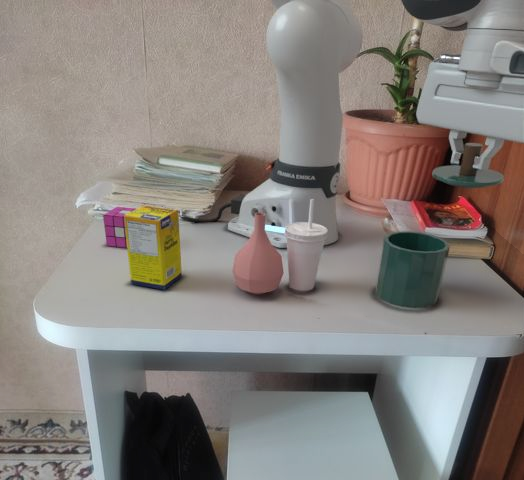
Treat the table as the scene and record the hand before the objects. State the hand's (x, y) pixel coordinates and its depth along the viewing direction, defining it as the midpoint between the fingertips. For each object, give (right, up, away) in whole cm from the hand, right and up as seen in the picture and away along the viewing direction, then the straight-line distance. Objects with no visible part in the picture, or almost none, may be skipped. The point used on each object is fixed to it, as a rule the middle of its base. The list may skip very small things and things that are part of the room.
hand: (468, 167), depth 74 cm
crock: (-8, -18, +5) cm, 20 cm away
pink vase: (-31, -17, +5) cm, 36 cm away
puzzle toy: (-55, -7, +22) cm, 59 cm away
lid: (0, -1, +1) cm, 1 cm away
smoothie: (-24, -17, +7) cm, 30 cm away
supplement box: (-46, -16, +7) cm, 49 cm away
